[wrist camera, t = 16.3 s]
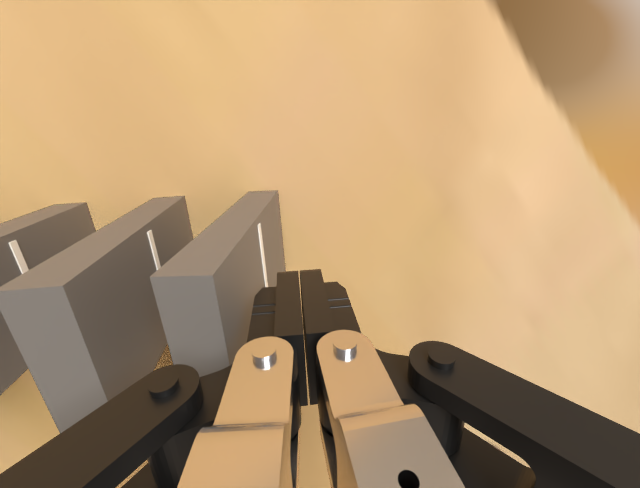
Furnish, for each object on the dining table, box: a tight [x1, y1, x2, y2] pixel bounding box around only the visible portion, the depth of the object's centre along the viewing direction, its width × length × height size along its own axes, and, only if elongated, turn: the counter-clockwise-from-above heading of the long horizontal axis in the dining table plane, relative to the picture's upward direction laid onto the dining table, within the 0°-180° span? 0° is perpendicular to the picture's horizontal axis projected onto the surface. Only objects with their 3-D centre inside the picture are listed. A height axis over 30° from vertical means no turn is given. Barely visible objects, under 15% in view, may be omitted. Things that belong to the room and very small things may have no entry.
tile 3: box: [0, 203, 96, 395], centre depth 13 cm, size 5×2×10 cm, turn 2°
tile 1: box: [150, 191, 286, 377], centre depth 13 cm, size 5×2×10 cm, turn 2°
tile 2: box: [0, 196, 193, 433], centre depth 13 cm, size 5×2×10 cm, turn 2°
